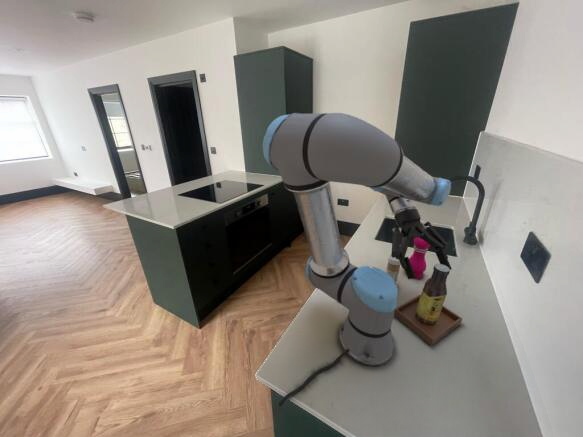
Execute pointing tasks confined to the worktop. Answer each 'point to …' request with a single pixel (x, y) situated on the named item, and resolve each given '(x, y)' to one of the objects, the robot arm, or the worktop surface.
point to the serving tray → (425, 331)
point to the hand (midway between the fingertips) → (430, 274)
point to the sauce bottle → (433, 295)
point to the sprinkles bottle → (393, 268)
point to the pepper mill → (419, 257)
